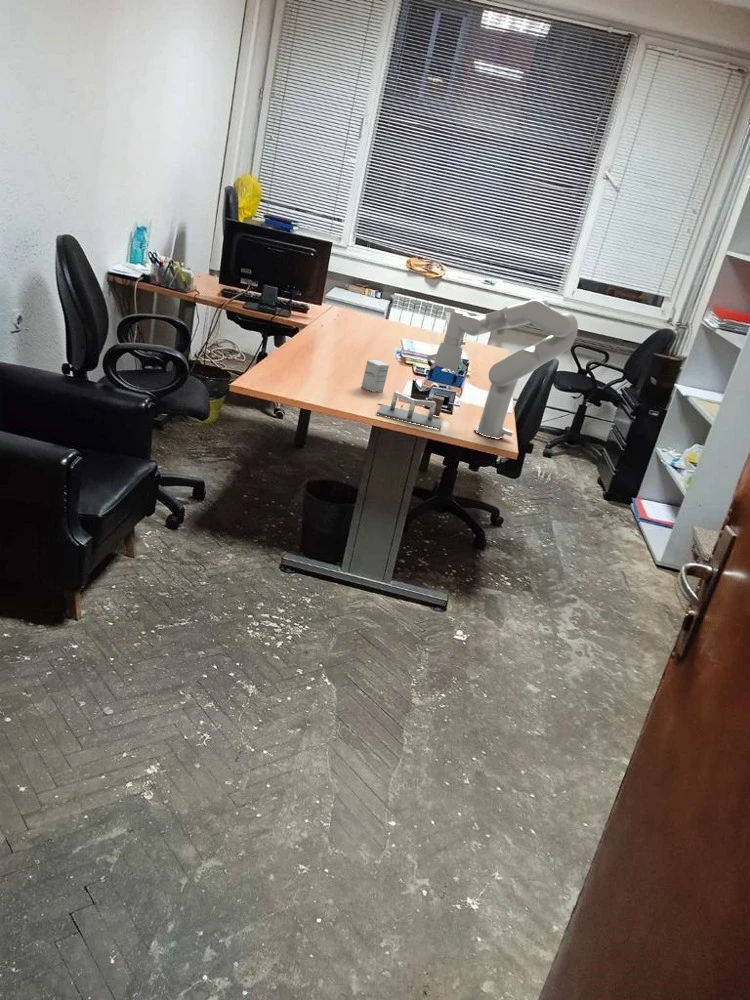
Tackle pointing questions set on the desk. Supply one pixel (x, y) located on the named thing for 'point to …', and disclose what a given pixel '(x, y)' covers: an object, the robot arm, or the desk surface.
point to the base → (415, 418)
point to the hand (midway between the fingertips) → (441, 380)
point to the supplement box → (375, 375)
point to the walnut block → (438, 404)
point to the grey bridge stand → (413, 404)
